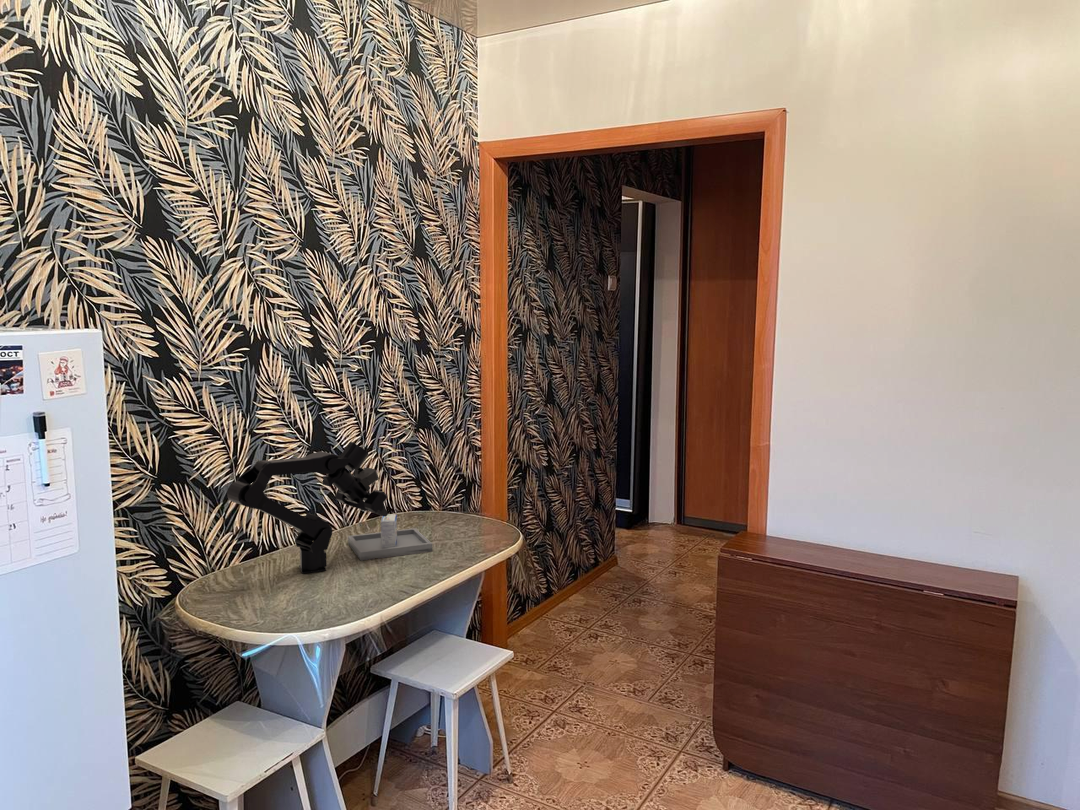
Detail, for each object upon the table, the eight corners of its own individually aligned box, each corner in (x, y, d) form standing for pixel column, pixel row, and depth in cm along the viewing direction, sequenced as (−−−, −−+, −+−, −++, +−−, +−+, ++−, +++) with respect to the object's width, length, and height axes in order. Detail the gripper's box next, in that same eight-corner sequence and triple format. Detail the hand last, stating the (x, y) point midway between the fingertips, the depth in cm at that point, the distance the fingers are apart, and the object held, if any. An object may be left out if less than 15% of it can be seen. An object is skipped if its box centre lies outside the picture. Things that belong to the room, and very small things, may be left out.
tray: (360, 560, 221) (360, 552, 221) (347, 543, 237) (347, 535, 237) (432, 551, 231) (432, 543, 230) (415, 535, 247) (415, 528, 246)
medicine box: (395, 548, 230) (395, 520, 229) (380, 548, 229) (380, 520, 228) (397, 540, 238) (397, 513, 237) (382, 540, 237) (382, 514, 236)
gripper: (381, 465, 217) (411, 496, 227) (343, 456, 229) (373, 486, 239) (359, 496, 212) (390, 526, 222) (321, 486, 224) (352, 515, 234)
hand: (377, 512), depth 229 cm, fingers open, 9 cm apart
